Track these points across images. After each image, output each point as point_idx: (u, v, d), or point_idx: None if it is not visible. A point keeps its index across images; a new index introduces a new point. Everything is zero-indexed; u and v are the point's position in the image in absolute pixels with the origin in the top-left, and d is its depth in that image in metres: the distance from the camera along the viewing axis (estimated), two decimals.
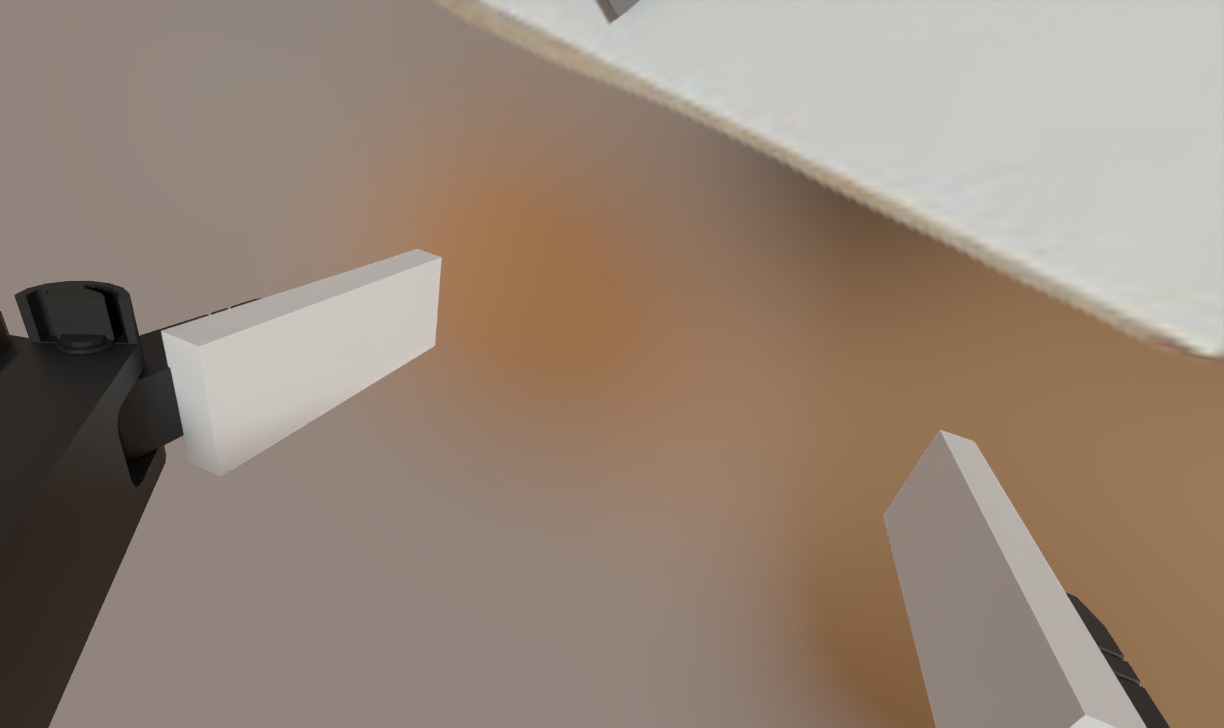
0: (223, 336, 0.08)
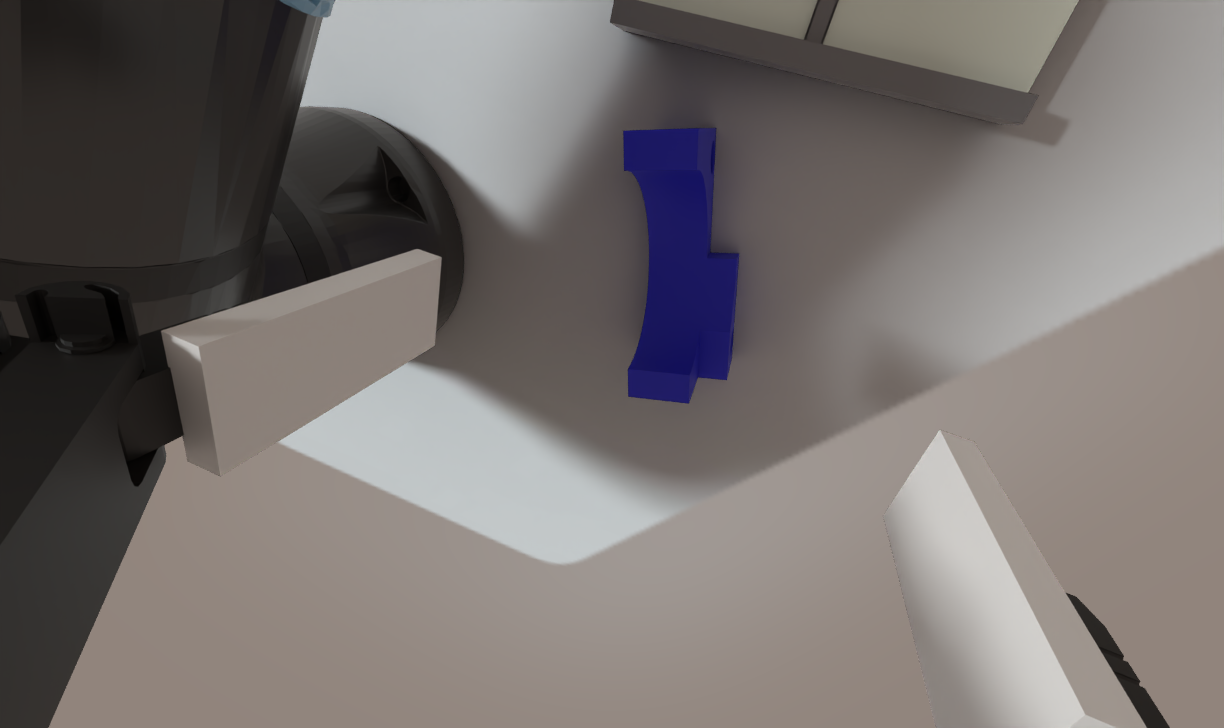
0: (223, 336, 0.08)
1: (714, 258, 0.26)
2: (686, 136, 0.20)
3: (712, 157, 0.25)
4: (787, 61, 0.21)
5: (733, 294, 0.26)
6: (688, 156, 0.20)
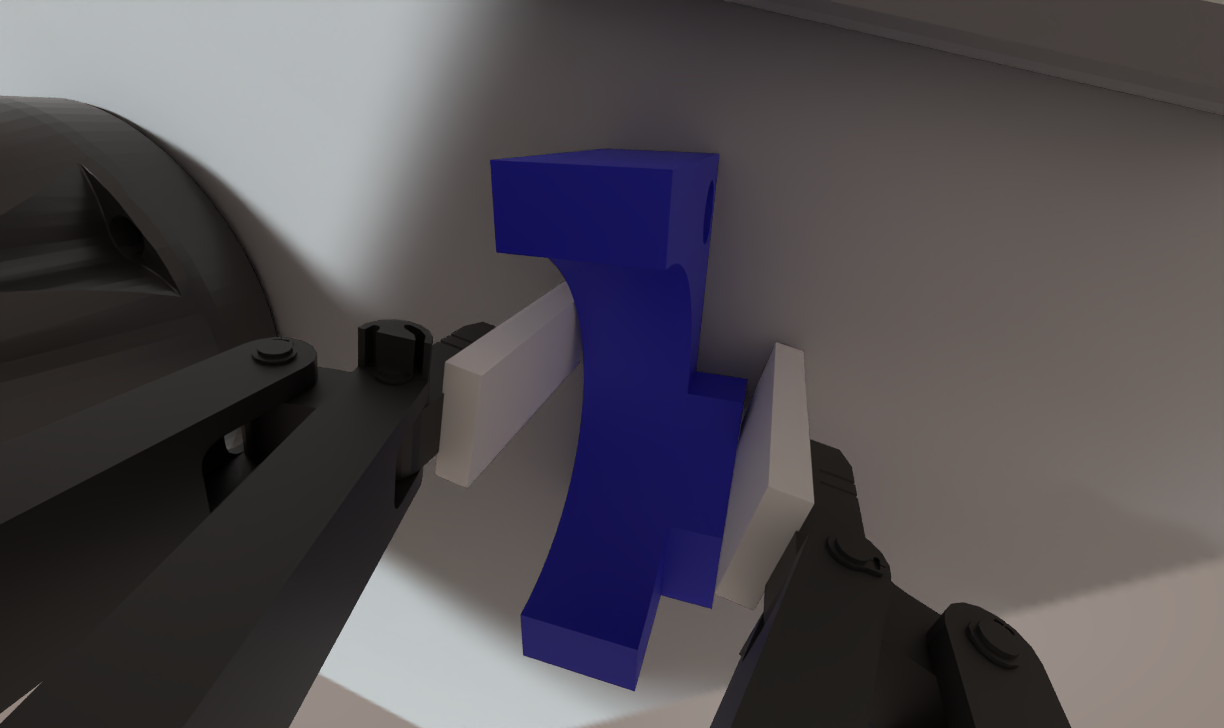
0: (490, 365, 0.10)
1: (702, 394, 0.14)
2: (641, 188, 0.08)
3: (708, 209, 0.13)
4: None
5: (732, 462, 0.14)
6: (645, 236, 0.08)
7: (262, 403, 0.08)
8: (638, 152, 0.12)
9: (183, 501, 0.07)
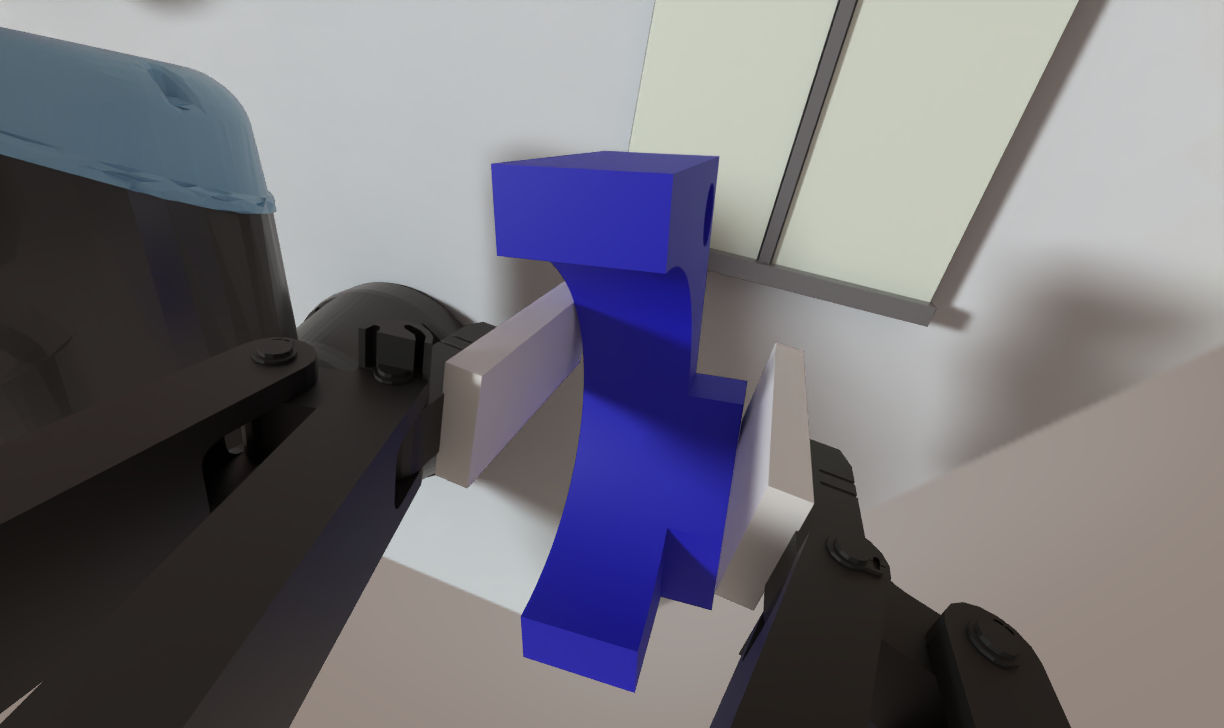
0: (490, 365, 0.10)
1: (702, 395, 0.14)
2: (642, 192, 0.08)
3: (708, 211, 0.13)
4: (745, 277, 0.27)
5: (732, 464, 0.14)
6: (646, 240, 0.08)
7: (262, 403, 0.08)
8: (638, 155, 0.12)
9: (183, 501, 0.07)
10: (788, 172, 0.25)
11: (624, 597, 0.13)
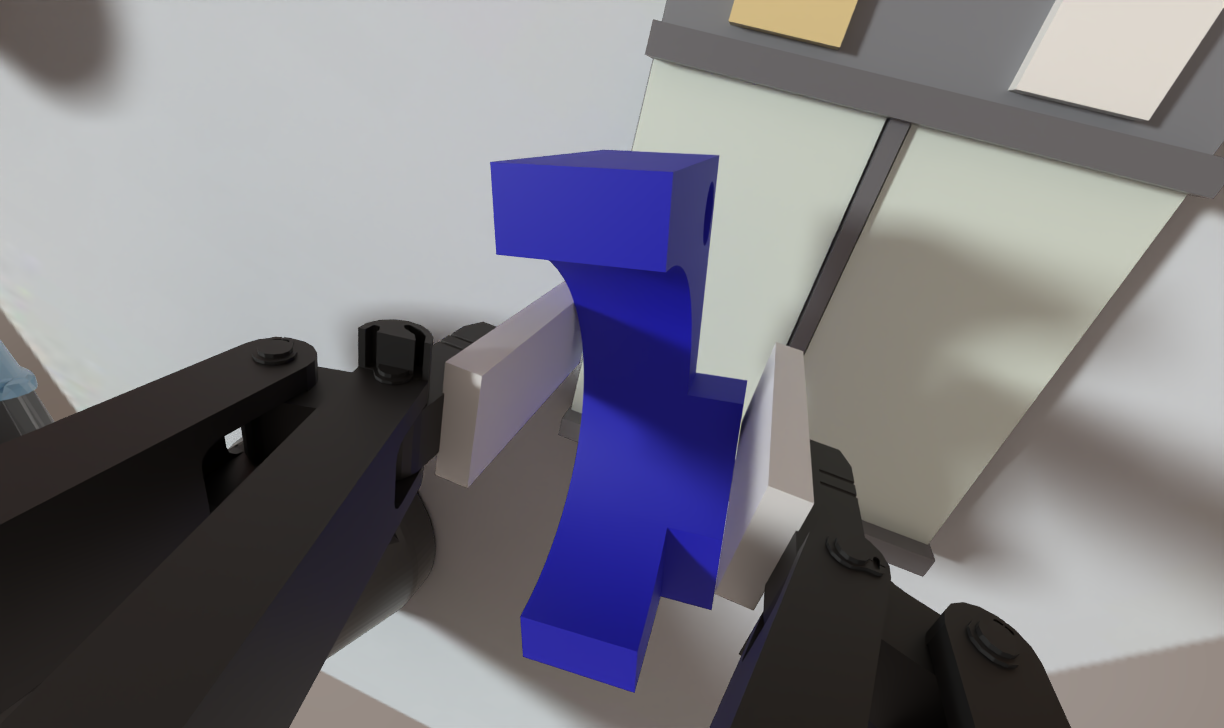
0: (490, 365, 0.10)
1: (702, 395, 0.14)
2: (641, 191, 0.08)
3: (708, 210, 0.13)
4: None
5: (732, 464, 0.14)
6: (645, 238, 0.08)
7: (262, 403, 0.08)
8: (638, 153, 0.12)
9: (183, 501, 0.07)
10: None
11: (624, 597, 0.13)
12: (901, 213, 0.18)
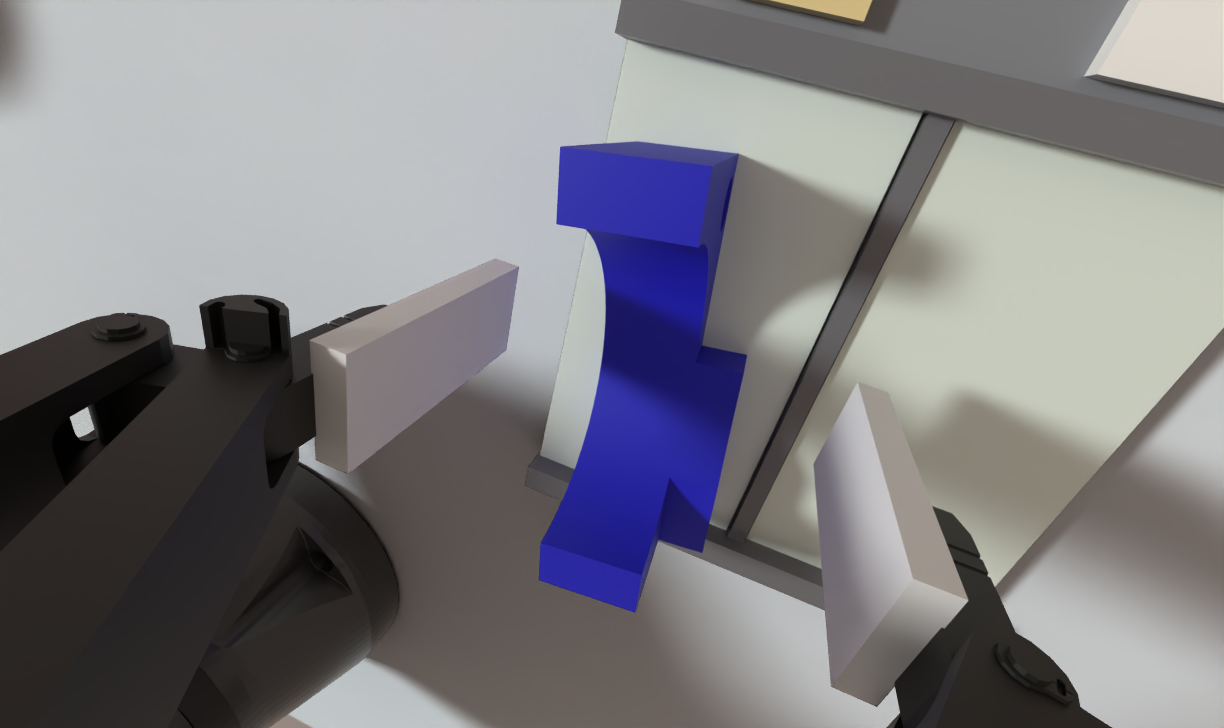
0: (362, 345, 0.09)
1: (707, 363, 0.16)
2: (685, 180, 0.10)
3: (725, 201, 0.15)
4: (709, 559, 0.20)
5: (730, 425, 0.16)
6: (684, 219, 0.10)
7: (113, 379, 0.08)
8: (670, 147, 0.14)
9: (35, 484, 0.07)
10: (774, 446, 0.18)
11: (630, 532, 0.15)
12: (939, 233, 0.14)
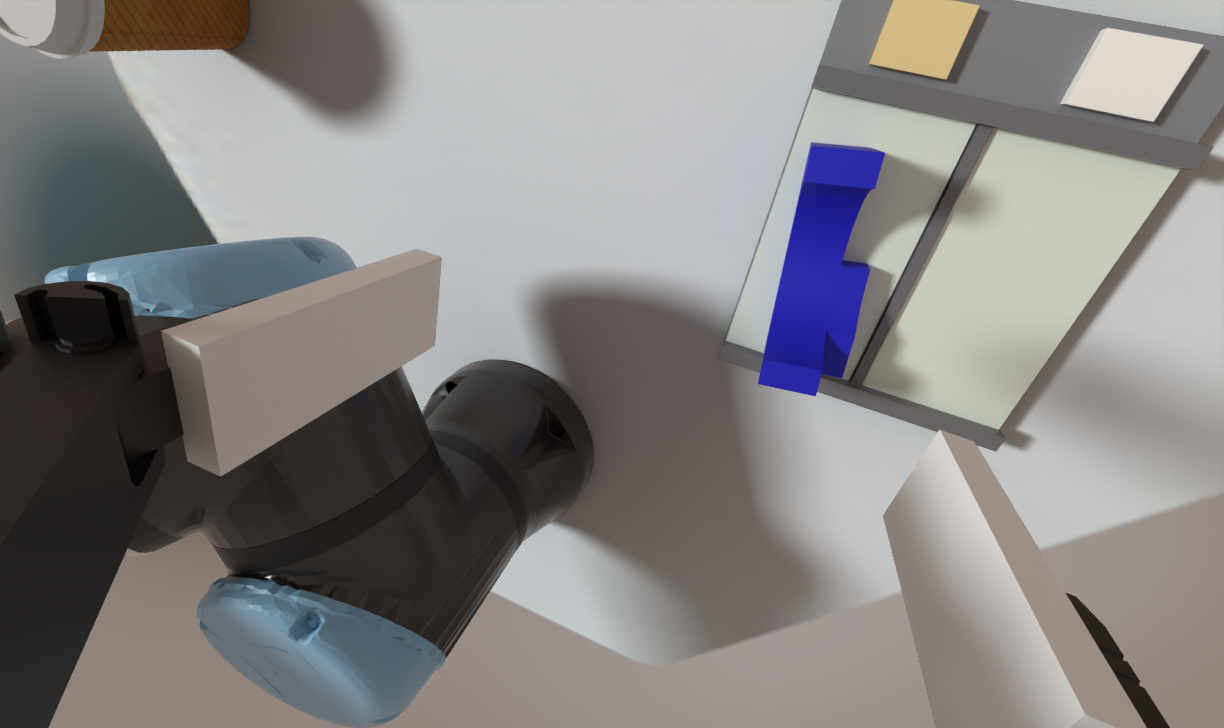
0: (223, 336, 0.08)
1: (848, 266, 0.28)
2: (871, 158, 0.22)
3: None
4: (839, 396, 0.32)
5: (860, 301, 0.29)
6: (869, 176, 0.22)
7: None
8: (836, 145, 0.26)
9: None
10: (885, 318, 0.30)
11: (809, 356, 0.28)
12: (985, 187, 0.26)
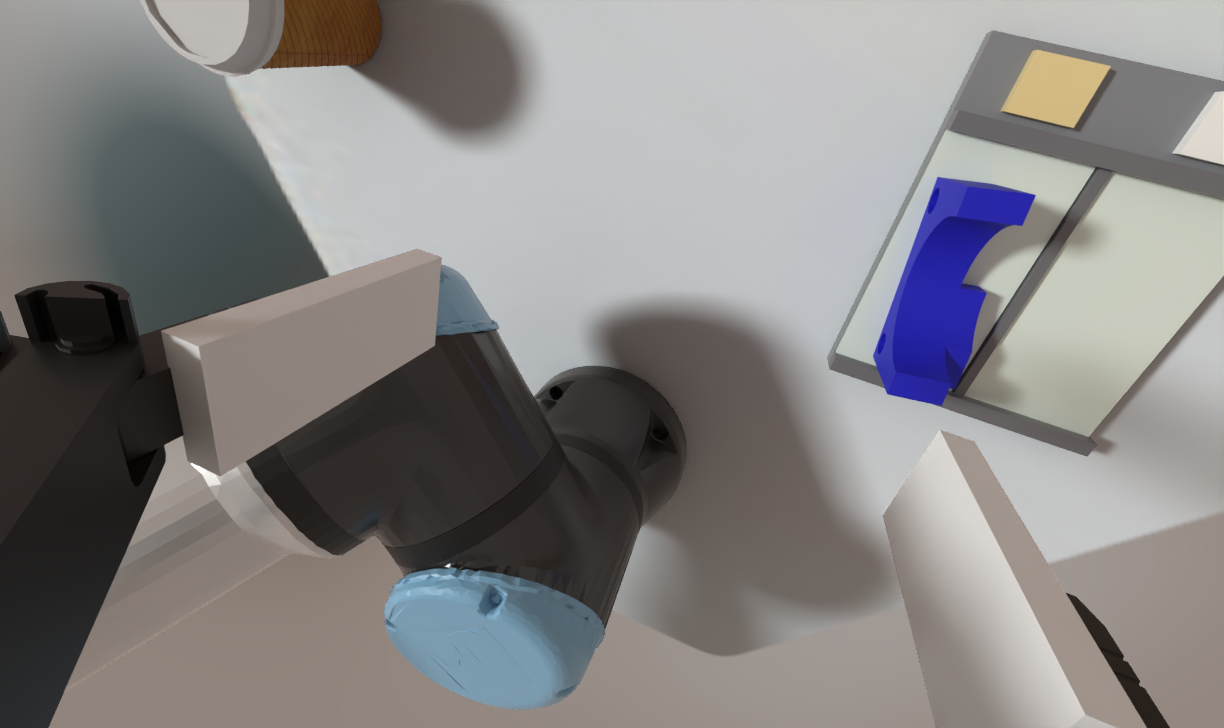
0: (223, 336, 0.08)
1: (966, 288, 0.32)
2: (1022, 199, 0.25)
3: None
4: (943, 405, 0.35)
5: (975, 320, 0.32)
6: (1018, 214, 0.26)
7: None
8: (966, 181, 0.30)
9: None
10: (993, 336, 0.33)
11: (934, 369, 0.31)
12: (1098, 222, 0.30)
